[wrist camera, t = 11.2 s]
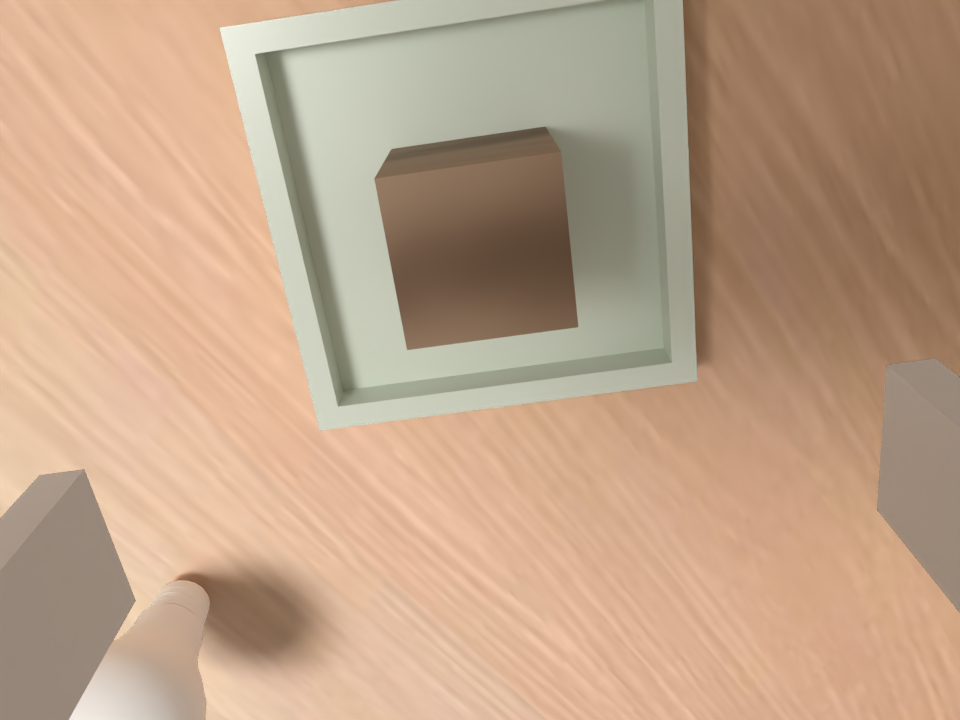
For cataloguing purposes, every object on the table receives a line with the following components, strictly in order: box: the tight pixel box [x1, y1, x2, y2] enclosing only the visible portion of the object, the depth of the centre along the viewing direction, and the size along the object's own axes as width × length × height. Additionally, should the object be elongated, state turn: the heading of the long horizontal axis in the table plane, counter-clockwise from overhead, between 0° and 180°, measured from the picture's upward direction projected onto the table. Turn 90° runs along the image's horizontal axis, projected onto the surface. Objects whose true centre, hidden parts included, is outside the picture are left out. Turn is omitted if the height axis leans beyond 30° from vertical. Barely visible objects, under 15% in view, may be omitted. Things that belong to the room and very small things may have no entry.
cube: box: [374, 127, 578, 350], centre depth 30 cm, size 6×6×6 cm
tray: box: [220, 0, 697, 431], centre depth 32 cm, size 16×16×2 cm
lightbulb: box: [69, 580, 210, 720], centre depth 35 cm, size 6×6×11 cm
